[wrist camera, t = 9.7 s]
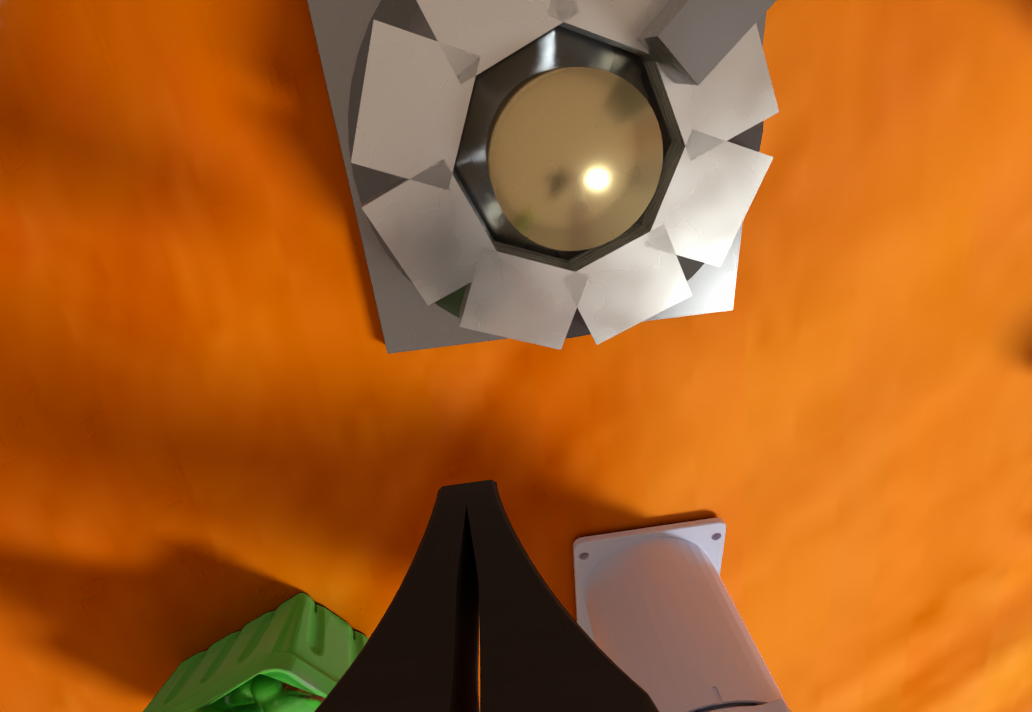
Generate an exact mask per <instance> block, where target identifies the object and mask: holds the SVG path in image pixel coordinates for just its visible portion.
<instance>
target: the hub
mask: <svg viewBox="0 0 1032 712" xmlns="http://www.w3.org/2000/svg"><path fill="white" fill-rule="evenodd" d="M307 2H308V6H309V11H310V15H311V19H312V24H313V28H314V33H315V37H316V41H317V46H318V50H319V54H320V59H321V63H322V68H323V72H324V76H325V81H326V85H327V90H328V94H329V98H330V103H331V107H332V112H333V116H334V120H335V125H336V129H337V133H338V138H339V142H340V147H341V151H342V155H343V160H344V164H345V169H346V173H347V177H348V182H349V186H350V191H351V195H352V199H353V204H354V208H355V212H356V217H357V221H358V226H359V230H360V234H361V239H362V243H363V248H364V252H365V256H366V261H367V265H368V270H369V274H370V278H371V283H372V287H373V291H374V296H375V300H376V305H377V309H378V313H379V318H380V322H381V327H382V331H383V335H384V340H385V344H386V349H387V353H388V354H389V353H396V352H404V351H412V350H420V349H428V348H436V347H444V346H452V345H460V344H468V343H476V342H483V341H491V340H499V339H507V338H506V337H502V336H498V335H493V334H489V333H484V332H480V331H475V330H471V329H467V328H462V327H460V321H459V311H460V308H461V304H462V300H463V297H464V293H465V289H466V286H467V285H465V286H463V287H461V288H459V289H458V290H456V291H454V292H452V293H450V294H448V295H447V296H445V297H443V298H441V299H439V300H438V301H436V302H434V303H432V304H430V305H429V306H428V305H427V303H426V302H425V300H424V299H423V297H422V296H421V294H420V293H419V291H418V290H417V289H416V287H415V286H414V284H413V283H412V281H411V280H410V278H409V277H408V275H407V274H406V272H405V271H404V269H403V268H402V267H401V265H400V264H399V262H398V261H397V259H396V258H395V256H394V255H393V253H392V252H391V250H390V249H389V247H388V246H387V244H386V243H385V242H384V240H383V239H382V237H381V236H380V234H379V233H378V231H377V230H376V228H375V227H374V225H373V224H372V222H371V221H370V220H369V218H368V217H367V215H366V214H365V212H364V211H363V209H362V206H363V204H364V203H365V201H366V199H367V198H369V197H371V196H372V195H374V194H376V193H377V192H379V191H381V190H383V189H384V188H386V187H388V186H389V185H391V184H393V183H394V182H396V181H398V180H399V179H401V178H403V177H400V176H396V175H393V174H389V173H385V172H382V171H378V170H375V169H371V168H368V167H364V166H361V165H357V164H354V163H351V159H352V153H353V146H354V140H355V134H356V128H357V121H358V115H359V109H360V102H361V96H362V90H363V84H364V77H365V71H366V65H367V59H368V52H369V46H370V40H371V33H372V27H373V21H374V20H376V21H379V22H382V23H385V24H388V25H391V26H394V27H397V28H400V29H403V30H406V31H408V32H411V33H414V34H417V35H420V36H423V37H426V38H429V39H432V40H435V41H437V39H436V37H435V35H434V33H433V31H432V29H431V27H430V26H429V24H428V22H427V20H426V18H425V16H424V14H423V12H422V10H421V8H420V6H419V5H418V3H417V1H416V0H307ZM765 18H766V12H765V13H764V14H763V15H762V17H761V18H760V19H759V20H758V21H757V22H756V25H757V28H758V32H759V36H760V40H761V44H762V45H763V36H764V27H765ZM437 42H438V41H437ZM762 133H763V121H762V122H760V123H758V124H756V125H754V126H753V127H751V128H749V129H747V130H745V131H744V132H742V133H740V134H738V135H736V136H734V137H733V138H731V139H729V140H727V141H728V142H731V143H734V144H737V145H739V146H742V147H745V148H748V149H751V150H754V151H757V152H759V150H760V144H761V138H762ZM670 142H671V139H670V137H669V134H668V131H667V128H666V126H665V123H664V120H663V117H662V114H661V112H660V109H659V106H658V103H657V101H656V98H655V95H654V92H653V90H652V87H651V84H650V81H649V78H648V76H647V73H646V70H645V67H644V65H643V62H642V61H641V59H640V58H639V57H638V56H637V55H636V54H634V53H631V52H628V51H626V50H623V49H620V48H618V47H615V46H612V45H609V44H607V43H604V42H601V41H599V40H596V39H593V38H591V37H588V36H585V35H582V34H580V33H577V32H574V31H572V30H569V29H566V28H564V27H561V26H556V27H555V28H553V29H551V30H550V31H548V32H546V33H545V34H543V35H542V36H540V37H538V38H537V39H535V40H533V41H532V42H530V43H528V44H527V45H525V46H524V47H522V48H520V49H519V50H517V51H515V52H514V53H512V54H510V55H509V56H507V57H506V58H504V59H502V60H501V61H499V62H497V63H496V64H494V65H493V66H491V67H489V68H488V69H486V70H484V71H483V72H481V73H479V74H478V75H476V77H475V81H474V85H473V89H472V94H471V98H470V102H469V106H468V110H467V114H466V119H465V123H464V127H463V131H462V135H461V139H460V144H459V148H458V152H457V156H456V160H455V165H454V171H455V173H456V175H457V176H458V178H459V180H460V182H461V183H462V185H463V187H464V189H465V190H466V192H467V194H468V196H469V197H470V199H471V201H472V203H473V204H474V206H475V208H476V210H477V211H478V213H479V215H480V217H481V218H482V220H483V222H484V224H485V225H486V227H487V229H488V231H489V232H490V234H491V236H492V238H493V239H494V240H495V241H498V242H502V243H506V244H510V245H513V246H517V247H521V248H525V249H528V250H532V251H536V252H540V253H543V254H547V255H551V256H555V257H558V258H562V259H566V260H569V259H571V258H573V257H575V256H577V255H579V254H580V253H582V252H584V251H586V250H588V249H591V248H594V247H597V246H601V245H603V244H605V243H607V242H609V241H611V240H613V239H615V238H616V237H618V236H620V235H621V234H622V233H624V232H625V231H626V230H627V229H629V228H630V227H631V226H632V225H634V224H636V223H637V222H639V220H640V218H641V215H642V214H643V212H644V211H645V209H646V208H647V206H648V205H649V203H650V201H651V199H652V197H653V195H654V193H655V191H656V188H657V185H658V182H659V179H660V175H661V170H662V163H663V160H664V157H665V155H666V152H667V150H668V147H669V145H670ZM742 223H743V221H742ZM742 223H741V225H740V228H739V230H738V232H737V234H736V236H735V238H734V240H733V242H732V244H731V246H730V248H729V250H728V252H727V254H726V256H725V259H724V261H723V263H722V265H721V267H718V266H714V265H711V264H707V263H704V262H700V261H697V260H693V259H689V258H686V257H682V256H679V255H676V256H677V258H678V261H679V263H680V266H681V268H682V271H683V273H684V276H685V278H686V281H687V283H688V286H689V288H690V291H691V293H692V296H691V297H689V298H687V299H685V300H683V301H681V302H679V303H677V304H675V305H673V306H671V307H669V308H667V309H665V310H664V311H662V312H660V313H658V314H656V315H654V316H652V317H650V318H648V319H646V320H644V321H649V320H657V319H665V318H673V317H681V316H689V315H697V314H705V313H713V312H720V311H728V310H733V303H734V294H735V285H736V276H737V267H738V258H739V249H740V240H741V231H742ZM589 334H591V333H590V331H589V329H588V327H587V325H586V323H585V321H584V319H583V317H582V316H581V314H580V312H579V310H578V308H577V309H576V311H575V314H574V317H573V319H572V322H571V325H570V327H569V330H568V332H567V335H566V338H573V337H578V336H583V335H589Z"/></svg>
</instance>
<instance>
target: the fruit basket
mask: <svg viewBox="0 0 1032 712" xmlns="http://www.w3.org/2000/svg"><path fill="white" fill-rule="evenodd" d="M367 641H368V639H367V636H365V635H364V634H362V633H359V632H357V631H353V629H352V628H351V627H350V625H349V624H348V623H346V622H345V621H344V620H342V619H341V618H339V617H338V616H336V615H335V614H333V613H332V612H331V611H329V610H328V609H327V608H325V607H322V606H320V605H318V604H315V603H314V601H313V600H312V599H311V597H310V596H308V595H307V594H305V593H299V594H297V595H295V596H294V597H292V598H290V599H289V600H287V601H285V602H284V603H282V604H281V605H280V606H279V607H278V608H277V609H276V611H275V610H274V611H271V612H267V613H265V614H263V615H262V616H260V617H258V618H256V619H255V620H253V621H251V622H250V623H248V624H246V625H245V626H244V628H243V629H242V630H241V631H238V632H234V633H231V634H229V635H228V636H226V637H224V638H222V639H221V640H219V641H217V642H216V643H214V644H212V645H211V646H210V648H209V649H208V650H207V651H203V652H199V653H197V654H195V655H193V656H192V657H190V658H188V659H187V660H185V661H183V662H182V663H181V664H180V665H179V666H178V668H177V669H176V670H175V671H174V673H173V674H172V675H171V676H170V678H169V679H168V680H167V681H166V683H165V684H164V685H163V687H162V688H161V689H160V691H159V692H158V693H157V694H156V696H155V697H154V698H153V700H152V701H151V702H150V703H149V705H148V706H147V707H146V708H145V710H144V711H143V712H314V711H315V710H316V709H317V708H318V707H319V705H320V704H321V703H322V702H323V700H324V699H325V698H326V697H327V695H328V694H329V693H330V691H331V690H332V689H333V688H334V686H335V685H336V684H337V682H338V681H339V680H340V679H341V677H342V676H343V675H344V673H345V672H346V671H347V670H348V668H349V667H350V666H351V664H352V663H353V661H354V660H355V659H356V657H357V656H358V654H359V653H360V652H361V650H362V649H363V647H364V646H365V644H366V643H367Z"/></svg>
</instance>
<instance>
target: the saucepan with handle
mask: <svg viewBox="0 0 1032 712" xmlns="http://www.w3.org/2000/svg"><path fill="white" fill-rule="evenodd" d="M416 1H417V3H418V5H419V6H420V8H421V10H422V12H423V14H424V16H425V18H426V20H427V22H428V24H429V26H430V27H431V29H432V31H433V33H434V35H435V37H436V39H437V41H438V42H437V41H435V40H432V39H429V38H426V37H423V36H420V35H417V34H414V33H411V32H408V31H406V30H403V29H400V28H397V27H394V26H391V25H388V24H385V23H382V22H379V21H376V20H374V21H373V27H372V33H371V40H370V46H369V52H368V59H367V65H366V71H365V77H364V84H363V90H362V96H361V102H360V109H359V115H358V121H357V128H356V134H355V140H354V146H353V153H352V159H351V163H354V164H357V165H361V166H364V167H368V168H371V169H375V170H378V171H382V172H385V173H389V174H393V175H396V176H400V177H403V178H401V179H399V180H398V181H396V182H394V183H393V184H391V185H389V186H388V187H386V188H384V189H383V190H381V191H379V192H377V193H376V194H374V195H372V196H371V197H369V198H367V199H366V201H365V203H364V204H363V206H362V209H363V211H364V212H365V214H366V215H367V217H368V218H369V220H370V221H371V222H372V224H373V225H374V227H375V228H376V230H377V231H378V233H379V234H380V236H381V237H382V239H383V240H384V242H385V243H386V244H387V246H388V247H389V249H390V250H391V252H392V253H393V255H394V256H395V258H396V259H397V261H398V262H399V264H400V265H401V267H402V268H403V269H404V271H405V272H406V274H407V275H408V277H409V278H410V280H411V281H412V283H413V284H414V286H415V287H416V289H417V290H418V291H419V293H420V294H421V296H422V297H423V299H424V300H425V302H426V303H427V305H428V306H429V305H430V304H432V303H434V302H436V301H438V300H439V299H441V298H443V297H445V296H447V295H448V294H450V293H452V292H454V291H456V290H458V289H459V288H461V287H463V286H465V285H467V286H466V289H465V293H464V297H463V300H462V304H461V308H460V311H459V321H460V327H462V328H467V329H471V330H475V331H480V332H484V333H489V334H493V335H498V336H502V337H506V338H511V339H515V340H520V341H524V342H529V343H533V344H537V345H542V346H546V347H551V348H555V349H559V350H561V348H562V346H563V343H564V340H565V338H566V335H567V332H568V330H569V327H570V325H571V322H572V319H573V317H574V314H575V311H576V309H577V308H578V310H579V312H580V314H581V316H582V317H583V319H584V321H585V323H586V325H587V327H588V329H589V331H590V333H591V335H592V337H593V338H594V340H595V342H596V344H599V343H601V342H603V341H605V340H607V339H609V338H611V337H613V336H615V335H617V334H619V333H621V332H623V331H625V330H627V329H629V328H631V327H632V326H634V325H636V324H638V323H640V322H642V321H644V320H646V319H648V318H650V317H652V316H654V315H656V314H658V313H660V312H662V311H664V310H665V309H667V308H669V307H671V306H673V305H675V304H677V303H679V302H681V301H683V300H685V299H687V298H689V297H691V296H692V293H691V291H690V288H689V286H688V283H687V281H686V278H685V276H684V273H683V271H682V268H681V266H680V263H679V261H678V258H677V256H676V255H679V256H682V257H686V258H689V259H693V260H697V261H700V262H704V263H707V264H711V265H714V266H718V267H721V265H722V263H723V261H724V259H725V256H726V254H727V252H728V250H729V248H730V246H731V244H732V242H733V240H734V238H735V236H736V234H737V232H738V230H739V228H740V225H741V223H742V221H743V219H744V217H745V215H746V213H747V211H748V209H749V207H750V205H751V203H752V201H753V199H754V196H755V194H756V192H757V190H758V188H759V186H760V184H761V182H762V180H763V178H764V176H765V174H766V172H767V170H768V168H769V165H770V163H771V161H772V159H773V157H771V156H768V155H766V154H763V153H760V152H757V151H754V150H751V149H748V148H745V147H742V146H739V145H737V144H734V143H731V142H728V141H727V140H729V139H731V138H733V137H734V136H736V135H738V134H740V133H742V132H744V131H745V130H747V129H749V128H751V127H753V126H754V125H756V124H758V123H760V122H762V121H763V120H765V119H767V118H769V117H771V116H773V115H774V114H776V113H778V112H779V110H778V106H777V102H776V98H775V95H774V91H773V87H772V83H771V79H770V75H769V71H768V67H767V63H766V60H765V56H764V52H763V48H762V44H761V40H760V36H759V32H758V28H757V25H756V22H757V21H758V20H759V19H760V18H761V17H762V15H763V14H764V13H765V12H766V11H767V10H768V9H769V8H770V7H771V6H772V4H773V3H774V2H775V1H776V0H416ZM556 26H561V27H564V28H566V29H569V30H572V31H574V32H577V33H580V34H582V35H585V36H588V37H591V38H593V39H596V40H599V41H601V42H604V43H607V44H609V45H612V46H615V47H618V48H620V49H623V50H626V51H628V52H631V53H634V54H636V55H637V56H638V57H639V58H640V59H641V61H642V62H643V65H644V67H645V70H646V73H647V76H648V78H649V81H650V84H651V87H652V90H653V92H654V95H655V98H656V101H657V103H658V106H659V109H660V112H661V114H662V117H663V120H664V123H665V126H666V128H667V131H668V134H669V137H670V139H671V142H670V145H669V147H668V150H667V152H666V155H665V157H664V160H663V163H662V170H661V175H660V179H659V182H658V185H657V188H656V191H655V193H654V195H653V197H652V199H651V201H650V203H649V205H648V206H647V208H646V209H645V211H644V212H643V214H642V215H641V218H640V220H639V222H637V223H636V224H634V225H632V226H631V227H630V228H629V229H627V230H626V231H625V232H624V233H622V234H621V235H620V236H618V237H616V238H615V239H613V240H611V241H609V242H607V243H605V244H603V245H601V246H597V247H594V248H591V249H588V250H586V251H584V252H582V253H580V254H579V255H577V256H575V257H573V258H571V259H569V260H566V259H562V258H558V257H555V256H551V255H547V254H543V253H540V252H536V251H532V250H528V249H525V248H521V247H517V246H513V245H510V244H506V243H502V242H498V241H495V240H494V239H493V238H492V236H491V234H490V232H489V231H488V229H487V227H486V225H485V224H484V222H483V220H482V218H481V217H480V215H479V213H478V211H477V210H476V208H475V206H474V204H473V203H472V201H471V199H470V197H469V196H468V194H467V192H466V190H465V189H464V187H463V185H462V183H461V182H460V180H459V178H458V176H457V175H456V173H455V171H454V165H455V160H456V156H457V152H458V148H459V144H460V139H461V135H462V131H463V127H464V123H465V119H466V114H467V110H468V106H469V102H470V98H471V94H472V89H473V85H474V81H475V77H476V75H478V74H479V73H481V72H483V71H484V70H486V69H488V68H489V67H491V66H493V65H494V64H496V63H497V62H499V61H501V60H502V59H504V58H506V57H507V56H509V55H510V54H512V53H514V52H515V51H517V50H519V49H520V48H522V47H524V46H525V45H527V44H528V43H530V42H532V41H533V40H535V39H537V38H538V37H540V36H542V35H543V34H545V33H546V32H548V31H550V30H551V29H553V28H555V27H556Z"/></svg>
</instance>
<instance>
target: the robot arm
mask: <svg viewBox="0 0 1032 712" xmlns="http://www.w3.org/2000/svg"><path fill="white" fill-rule="evenodd" d="M725 532H726V525H725V523H724V521H723V520H722V519H721V518H709V519H703V520H696V521H689V522H682V523H675V524H668V525H662V526H655V527H648V528H641V529H634V530H628V531H621V532H614V533H607V534H600V535H593V536H587V537H581V538H578V539H577V540H575V541H574V543H573V557H574V576H575V595H576V614H577V622H576V621H575V620H574V619H573V618H572V616H571V615H570V614H569V613H568V612H567V610H566V609H565V608H564V606H563V605H562V604H561V603H560V601H559V600H558V599H557V598H556V596H555V595H554V593H553V592H552V591H551V589H550V588H549V587H548V585H547V584H546V582H545V581H544V580H543V578H542V577H541V575H540V574H539V572H538V571H537V569H536V567H535V566H534V564H533V563H532V561H531V560H530V558H529V556H528V555H527V553H526V551H525V550H524V548H523V546H522V544H521V542H520V541H519V539H518V537H517V535H516V533H515V531H514V529H513V527H512V525H511V523H510V521H509V519H508V517H507V514H506V512H505V510H504V507H503V505H502V502H501V499H500V496H499V493H498V489H497V483H496V482H494V481H493V480H486V481H478V482H471V483H464V484H457V485H450V486H443V487H441V488H440V489H439V491H438V494H437V498H436V502H435V505H434V508H433V512H432V515H431V518H430V520H429V523H428V526H427V528H426V531H425V533H424V536H423V538H422V541H421V543H420V545H419V548H418V550H417V553H416V555H415V557H414V559H413V561H412V564H411V566H410V568H409V570H408V572H407V574H406V576H405V578H404V580H403V582H402V584H401V586H400V588H399V590H398V591H397V593H396V595H395V597H394V599H393V601H392V602H391V604H390V606H389V608H388V609H387V611H386V613H385V614H384V616H383V618H382V619H381V621H380V623H379V624H378V626H377V627H376V629H375V630H374V632H373V633H372V635H371V637H370V638H369V640H368V641H367V643H366V644H365V646H364V647H363V649H362V650H361V652H360V653H359V654H358V656H357V657H356V659H355V660H354V661H353V663H352V664H351V666H350V667H349V668H348V670H347V671H346V672H345V673H344V675H343V676H342V677H341V679H340V680H339V681H338V682H337V684H336V685H335V686H334V688H333V689H332V690H331V691H330V693H329V694H328V695H327V697H326V698H325V699H324V700H323V702H322V703H321V704H320V705H319V707H318V708H317V709H316V710H315V711H314V712H479V696H478V657H479V615H480V712H791V711H790V709H789V707H788V705H787V703H786V702H785V700H784V698H783V696H782V694H781V692H780V690H779V688H778V686H777V684H776V683H775V681H774V679H773V677H772V675H771V673H770V671H769V669H768V667H767V665H766V663H765V662H764V660H763V658H762V656H761V654H760V652H759V650H758V648H757V646H756V644H755V643H754V641H753V639H752V637H751V635H750V633H749V631H748V629H747V627H746V625H745V624H744V622H743V620H742V618H741V616H740V614H739V612H738V610H737V608H736V606H735V605H734V603H733V601H732V599H731V597H730V595H729V593H728V591H727V589H726V587H725V585H724V584H723V582H722V580H721V578H720V569H721V562H722V555H723V547H724V540H725ZM581 553H584V554H581Z"/></svg>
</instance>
